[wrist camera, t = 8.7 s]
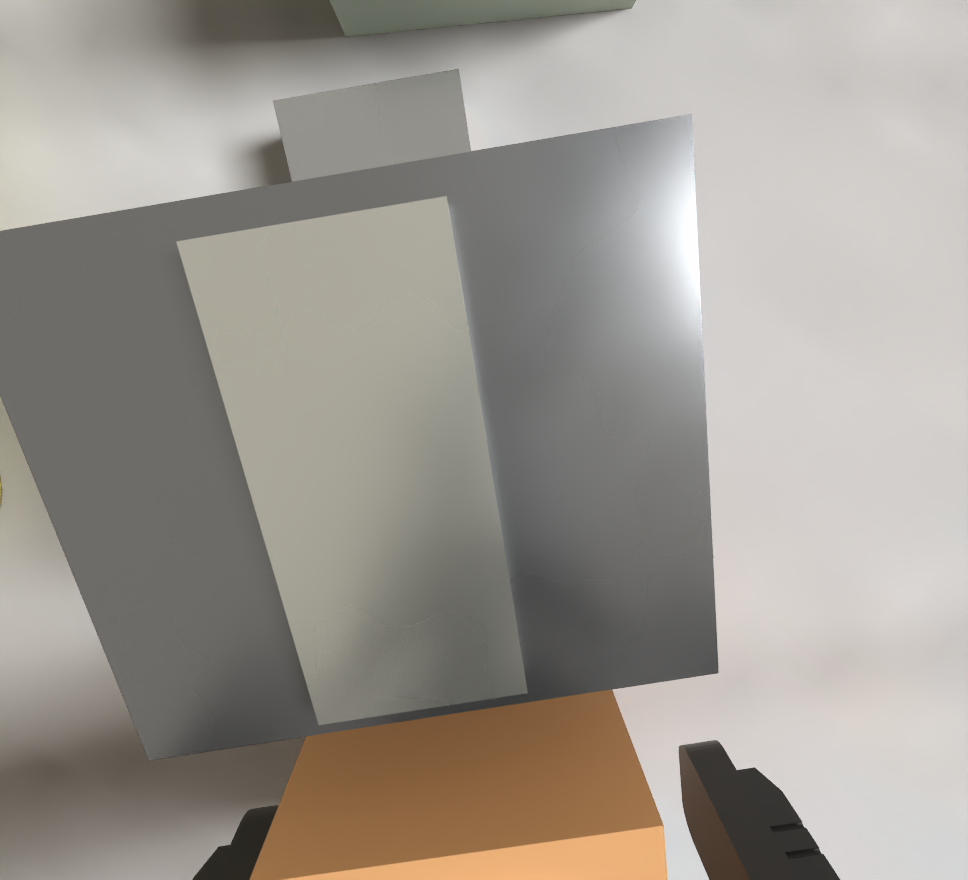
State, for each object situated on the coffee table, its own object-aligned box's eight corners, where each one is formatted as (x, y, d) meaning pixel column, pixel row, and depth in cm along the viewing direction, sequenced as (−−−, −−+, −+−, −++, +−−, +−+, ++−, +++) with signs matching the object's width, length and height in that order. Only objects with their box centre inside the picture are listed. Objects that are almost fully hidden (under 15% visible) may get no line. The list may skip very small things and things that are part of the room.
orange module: (359, 601, 12) (235, 914, 6) (566, 570, 12) (673, 853, 5) (412, 825, 13) (363, 1255, 7) (594, 800, 13) (697, 1209, 7)
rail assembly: (220, 144, 11) (-290, -210, 3) (540, 89, 10) (687, -389, 3) (437, 974, 17) (413, 1446, 10) (638, 944, 17) (760, 1401, 10)
